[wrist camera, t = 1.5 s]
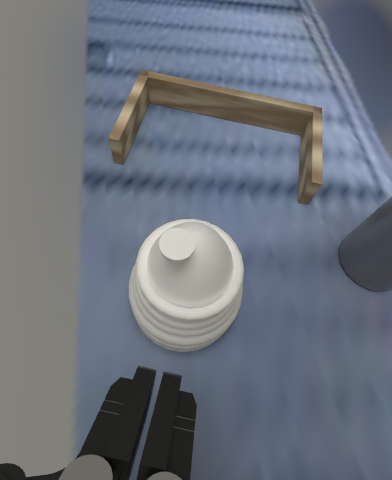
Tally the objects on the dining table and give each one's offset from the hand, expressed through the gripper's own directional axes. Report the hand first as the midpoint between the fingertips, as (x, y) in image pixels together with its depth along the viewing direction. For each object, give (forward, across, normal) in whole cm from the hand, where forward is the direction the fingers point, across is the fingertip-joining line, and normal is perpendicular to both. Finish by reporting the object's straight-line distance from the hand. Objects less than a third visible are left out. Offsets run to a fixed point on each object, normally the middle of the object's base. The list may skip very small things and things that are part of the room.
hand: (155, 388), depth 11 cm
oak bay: (+44, 0, -10) cm, 45 cm away
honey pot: (+25, 0, +9) cm, 27 cm away
